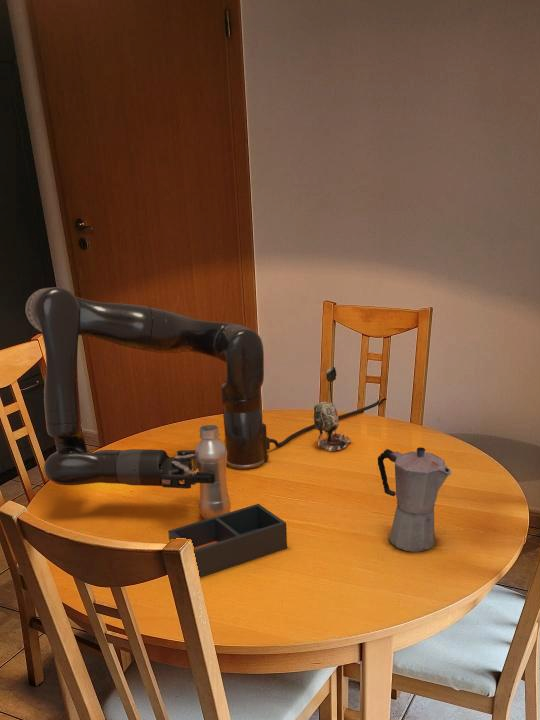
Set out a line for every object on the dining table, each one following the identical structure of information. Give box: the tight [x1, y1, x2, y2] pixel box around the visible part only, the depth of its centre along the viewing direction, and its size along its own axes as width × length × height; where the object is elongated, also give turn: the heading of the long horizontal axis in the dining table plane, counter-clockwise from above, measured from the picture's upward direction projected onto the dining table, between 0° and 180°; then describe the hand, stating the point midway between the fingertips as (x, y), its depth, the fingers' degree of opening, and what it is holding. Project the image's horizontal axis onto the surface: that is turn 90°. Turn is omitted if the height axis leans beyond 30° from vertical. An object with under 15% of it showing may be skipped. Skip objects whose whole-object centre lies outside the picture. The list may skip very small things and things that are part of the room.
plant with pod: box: [313, 365, 352, 452], centre depth 196 cm, size 8×11×20 cm
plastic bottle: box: [194, 424, 231, 520], centre depth 162 cm, size 6×7×20 cm
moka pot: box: [377, 446, 453, 553], centre depth 150 cm, size 10×15×20 cm, turn 58°
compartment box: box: [167, 503, 288, 578], centre depth 152 cm, size 10×20×6 cm, turn 123°
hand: (219, 469), depth 162 cm, fingers open, 8 cm apart
